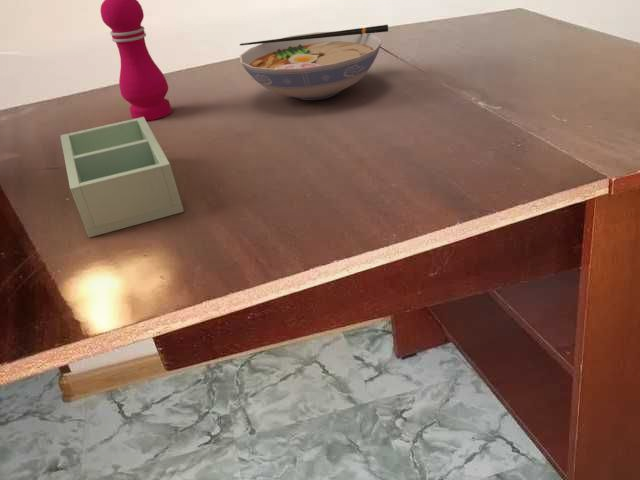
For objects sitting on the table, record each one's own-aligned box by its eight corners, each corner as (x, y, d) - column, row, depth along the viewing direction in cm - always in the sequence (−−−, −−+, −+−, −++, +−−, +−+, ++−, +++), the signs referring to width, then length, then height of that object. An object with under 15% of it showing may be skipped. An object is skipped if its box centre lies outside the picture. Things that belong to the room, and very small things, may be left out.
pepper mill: (184, 108, 115) (149, -21, 104) (153, 124, 109) (113, -12, 99) (151, 106, 118) (113, -21, 107) (119, 120, 112) (76, -11, 102)
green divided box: (88, 238, 77) (69, 188, 74) (76, 178, 93) (60, 135, 90) (184, 211, 81) (169, 163, 78) (156, 158, 96) (143, 116, 93)
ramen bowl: (229, 124, 106) (216, 70, 102) (254, 80, 125) (244, 34, 121) (393, 109, 106) (387, 54, 101) (392, 67, 125) (388, 20, 121)
